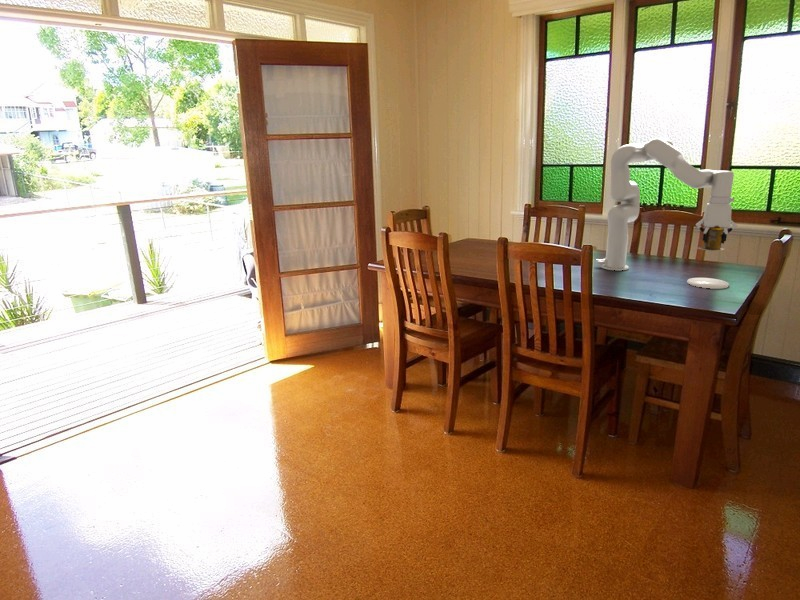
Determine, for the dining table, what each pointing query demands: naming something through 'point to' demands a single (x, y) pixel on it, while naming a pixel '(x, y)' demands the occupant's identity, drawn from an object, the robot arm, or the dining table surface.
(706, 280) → the plate
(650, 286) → the dining table surface
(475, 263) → the dining table surface
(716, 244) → the condiment
